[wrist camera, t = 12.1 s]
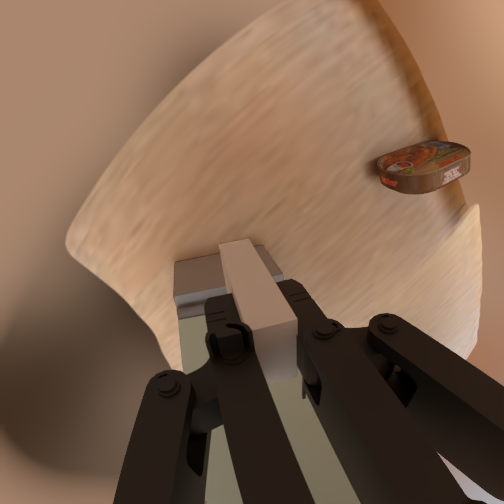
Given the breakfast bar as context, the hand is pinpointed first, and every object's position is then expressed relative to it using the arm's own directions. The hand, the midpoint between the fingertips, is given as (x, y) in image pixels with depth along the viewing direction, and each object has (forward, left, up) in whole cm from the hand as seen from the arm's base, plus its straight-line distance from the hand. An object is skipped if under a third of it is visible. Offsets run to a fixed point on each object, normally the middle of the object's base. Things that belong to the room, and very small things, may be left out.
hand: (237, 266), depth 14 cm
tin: (+2, -26, -16) cm, 30 cm away
